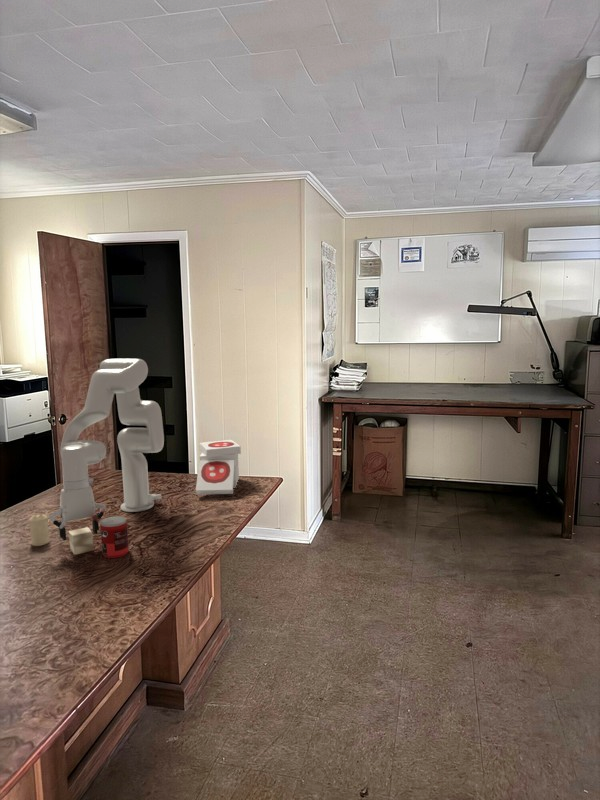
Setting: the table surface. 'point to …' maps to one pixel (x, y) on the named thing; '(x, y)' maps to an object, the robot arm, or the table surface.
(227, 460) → the pizza boxes
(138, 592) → the table surface
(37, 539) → the candle
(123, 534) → the canned food
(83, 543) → the birch block
